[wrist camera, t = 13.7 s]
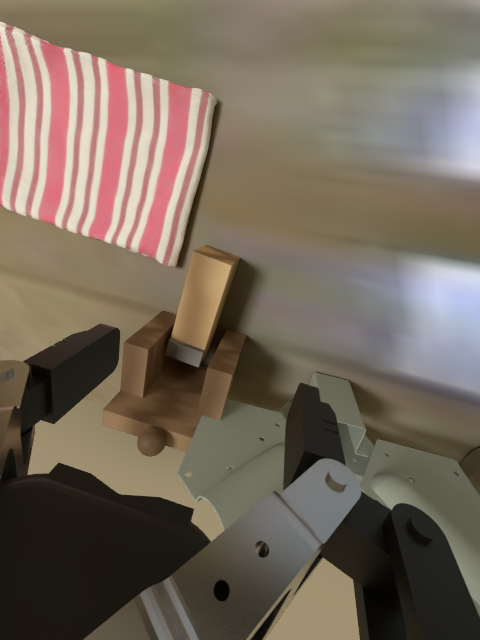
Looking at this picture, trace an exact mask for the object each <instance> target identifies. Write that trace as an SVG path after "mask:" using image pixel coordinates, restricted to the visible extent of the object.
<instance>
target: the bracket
mask: <svg viewBox="0 0 480 640" xmlns="http://www.w3.org/2000/svg"><path fill="white" fill-rule="evenodd" d="M309 385H310V386H314V387H317V388H319V393H320V401H321V402H324V403H328V404H329V405H330V406H331V408H332V409H333V411H334V412H335V414H336V418H337V423H338V425H337V426H338V428H339V435H340V438H341V443H342V448H343V452H344V457H345V462H346V467H348V468H349V469H350V470H351V471H352V472H353V473H354V475H355V476H356V477H357V479H358V481H359V483H360V486H361V490H362V491H363V492H364V493H365V494H366V495H368V496H369V497H371V498H372V499H374V500H376V501H377V502H379V503H381V504H382V505H384V506H385V507H387V508H389V509H390V510H392V509H393V507H394V506H395V505H396V504H399V503H407V504H410V505H413V506H415V507H417V508H419V509H420V510H422V511H423V512H425V513H426V514H427V515H428V516H430V517H431V518H432V519H433V520H434V521H435V522H436V523H437V524H438V526H439V527H440V528H441V530H442V531H443V533H444V534H445V536H446V538H447V540H448V542H449V545H450V547H451V549H452V552H453V554H454V557H455V559H456V561H457V564H458V566H459V569H460V571H461V573H462V576H463V578H464V581H465V583H466V585H467V588H468V590H469V593H470V595H471V597H472V600H473V602H474V604H475V607H476V609H477V612H478V614H479V616H480V496H479V495H478V493H477V492H476V490H475V489H474V487H473V486H472V484H471V483H470V481H469V479H468V478H467V476H466V475H465V473H464V472H463V470H462V469H461V467H460V466H459V464H458V463H457V461H456V460H454V459H450V458H447V457H443V456H439V455H435V454H432V453H428V452H424V451H420V450H417V449H413V448H409V447H406V446H402V445H398V444H394V443H391V442H387V441H383V440H380V439H377V441H376V444H375V446H374V445H373V444H372V443H371V441H370V440H369V439H368V438H367V436H366V435H365V433H366V428H365V425H364V422H363V419H362V417H361V414H360V411H359V408H358V405H357V402H356V399H355V396H354V393H353V390H352V387H351V385H350V382H349V381H348V380H344V379H340V378H336V377H332V376H328V375H324V374H320V373H316V372H315V373H313V375H312V378H311V381H310V384H309ZM291 404H292V402H289V401H287V402H286V403H285V404H284V405H283V406H282V408H281V409H280V410H279V411H278V412H275V411H271V410H268V409H264V408H260V407H257V406H253V405H249V404H245V403H242V402H238V401H234V400H231V399H227V401H226V404H225V407H224V410H223V413H222V416H221V419H220V420H217V419H214V418H210V417H206V416H203V415H202V416H201V419H200V421H199V423H198V426H197V428H196V431H195V433H194V435H193V438H192V440H191V442H190V445H189V447H188V450H187V452H186V455H185V457H184V459H183V462H182V464H181V466H180V469H179V471H178V473H177V475H178V476H179V477H180V479H181V480H182V482H183V483H184V485H185V486H186V488H187V489H188V491H189V492H190V494H191V495H192V496H193V498H194V499H195V501H196V502H198V501H199V500H201V499H202V498H204V499H206V500H207V501H208V502H209V503H210V504H211V505H212V507H213V508H214V510H215V511H216V513H217V515H218V517H219V519H220V521H221V524H222V527H223V531H225V530H226V529H227V528H228V527H230V526H231V525H232V524H233V523H234V522H236V521H237V520H238V519H239V518H240V517H242V516H243V515H244V514H245V513H246V512H247V511H249V510H250V509H251V508H252V507H253V506H255V505H256V504H257V503H258V502H259V501H261V500H262V499H263V498H264V497H265V496H267V495H268V494H269V493H271V492H273V491H276V492H277V493H278V494H280V493H282V492H283V477H284V453H285V428H286V420H287V416H288V412H289V410H290V407H291ZM342 423H343V424H342ZM344 424H346V425H344ZM384 453H387V454H388V455H389V457H387V456H386V455H385V454H384ZM351 459H353V460H354V461H355V462H356V463H353V462H352V461H351ZM227 466H230V467H229V469H228V470H227ZM187 472H190V473H191V477H186V476H185V473H187ZM454 472H456V473H457V474H458V475H459V476H457V475H455V474H454ZM408 478H409V479H412V480H413V481H414V483H412V482H410V481H409V479H408Z"/></svg>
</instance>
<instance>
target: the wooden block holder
mask: <svg viewBox="0 0 480 640" xmlns="http://www.w3.org/2000/svg"><path fill="white" fill-rule="evenodd" d="M176 316H177V315H176V314H172V313H169V312H165V311H162V312H161V313H159V314H158V315H157V316H156V317H154V318H153V319H152V320H151V321H150V322H148V323H147V324H146V325H145V326H143V327H142V328H141V329H140V330H139V331H137V332H136V333H135V334H134V335H132V336H131V337H130V338H129V339H128V340H126V341H125V342H124V350H123V363H122V376H121V389H120V392H119V393H118V394H117V395H116V396H115V397H114V398H113V399H112V400H111V401H110V403H109V404H108V405H107V406H106V407H105V408H104V409H103V421H102V425H104V426H107V427H110V428H113V429H116V430H120V431H122V432H126V433H129V434H132V435H135V436H138V441H137V445H138V449H139V451H140V452H141V453H142V454H143V455H146V456H155V455H157V454H159V453H160V452H161V451H162V450H163V449H164V447H165V445H166V446H169V447H172V448H175V449H178V450H182V451H185V452H187V450H188V447H189V445H190V442H191V440H192V438H193V435H194V433H195V431H196V428H197V426H198V423H199V421H200V419H201V416H202V415H203V416H206V417H210V418H214V419H217V420H220V419H221V416H222V413H223V410H224V407H225V404H226V401H227V399H228V397H229V393H230V390H231V387H232V384H233V380H234V377H235V373H236V370H237V366H238V362H239V359H240V355H241V352H242V348H243V345H244V341H245V337H246V335H244V334H240V333H237V332H234V331H230V330H226V332H225V334H224V336H223V338H222V340H221V342H220V344H219V346H218V348H217V350H216V352H215V354H214V356H213V358H212V360H211V362H210V364H209V366H207V365H203V364H200V366H199V367H196V366H193V365H190V364H188V363H185V362H183V361H180V360H177V359H175V358H172V357H169V356H167V355H165V353H166V349H167V345H168V341H169V339H170V338H171V336H172V332H173V328H174V324H175V320H176Z"/></svg>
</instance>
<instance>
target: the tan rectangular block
mask: <svg viewBox="0 0 480 640" xmlns="http://www.w3.org/2000/svg"><path fill="white" fill-rule="evenodd" d="M239 259H240V257H237V256H235V255H232V254H229V253H227V252H224V251H221V250H218V249H216V248H213V247H210V246H208V245H206V246H203V247H201V248H199V249H197V250H195V251H193V253H192V257H191V261H190V265H189V269H188V273H187V277H186V281H185V285H184V289H183V292H182V296H181V300H180V304H179V308H178V312H177V316H176V320H175V324H174V328H173V332H172V336H171V338H170V339H169V341H168V345H167V349H166V353H165V355H167V356H169V357H172V358H175V359H177V360H180V361H183V362H185V363H188V364H190V365H193V366H196V367H199V366H200V364H201V362H202V360H203V359H204V357H205V355H206V353H207V352H208V350H209V348H210V346H211V344H212V341H213V338H214V335H215V332H216V329H217V325H218V322H219V319H220V316H221V313H222V310H223V307H224V304H225V301H226V298H227V295H228V292H229V289H230V286H231V283H232V280H233V277H234V274H235V271H236V268H237V265H238V262H239Z"/></svg>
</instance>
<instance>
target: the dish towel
mask: <svg viewBox="0 0 480 640" xmlns="http://www.w3.org/2000/svg"><path fill="white" fill-rule="evenodd" d="M216 104H217V101H216V98H215V97H214V96H213V95H212V94H210V93H206V92H205V91H203V90H201V89H198V88H188V87H184V86H180V85H177V84H174V83H171V82H170V81H168V80H163V79H157V78H155V77H153V76H152V75H149V74H144V73H138V72H136V71H134V70H132V69H126V68H125V69H124V68H121V67H118V66H116V65H114V64H112V63H109V62H108V61H107V60H105V59H102V58H96V57H94V56H93V55H91V54H89V53H84V52H77V51H74V50H72V49H69V48H61V47H58V46H54V45H52V44H50V43H49V42H47V41H45V40H42V39H39V38H37V37H36V36H34V35H31V34H28V33H26V32H24V31H23V30H21V29H18V28H16V27H12V26H9V25H8V24H5V23H3V22H0V205H1V206H3V207H5V208H7V209H8V210H11V211H14V212H17V213H18V214H21V215H24V216H28V217H32V218H33V219H37V220H42V221H45V222H48V223H51V224H54V225H56V226H57V227H59V228H62V229H65V230H68V231H70V232H73V233H76V234H81V235H83V236H86V237H91V238H95V239H99V240H102V241H105V242H107V243H110V244H114V245H117V246H120V247H122V248H125V249H128V250H130V251H132V252H136V253H140V254H142V255H145V256H148V257H153V258H155V259H156V260H157V261H159V262H160V263H161V264H163V265H165V266H167V267H169V266H172V267H175V266H176V265H177V262H178V257H179V254H180V251H181V248H182V245H183V240H184V236H185V231H186V227H187V223H188V218H189V215H190V211H191V208H192V204H193V200H194V196H195V194H196V191H197V187H198V184H199V181H200V178H201V174H202V169H203V166H204V162H205V159H206V156H207V152H208V148H209V141H210V135H211V126H212V117H213V112H214V107H215V105H216Z"/></svg>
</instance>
